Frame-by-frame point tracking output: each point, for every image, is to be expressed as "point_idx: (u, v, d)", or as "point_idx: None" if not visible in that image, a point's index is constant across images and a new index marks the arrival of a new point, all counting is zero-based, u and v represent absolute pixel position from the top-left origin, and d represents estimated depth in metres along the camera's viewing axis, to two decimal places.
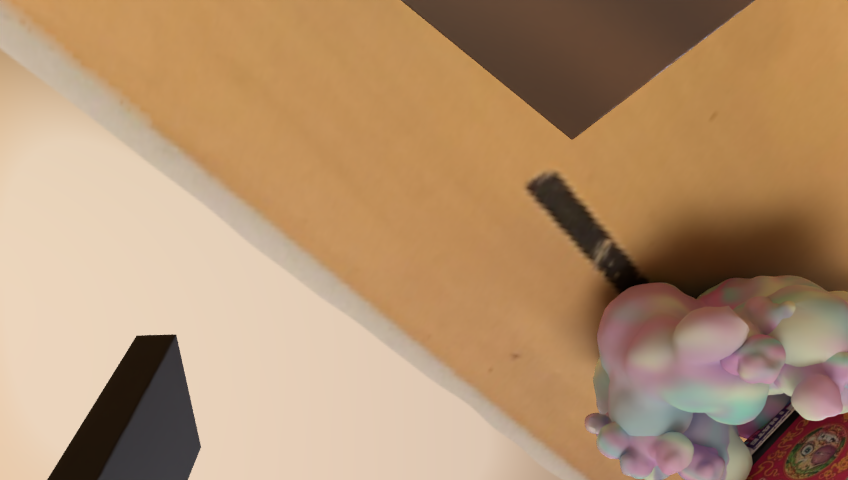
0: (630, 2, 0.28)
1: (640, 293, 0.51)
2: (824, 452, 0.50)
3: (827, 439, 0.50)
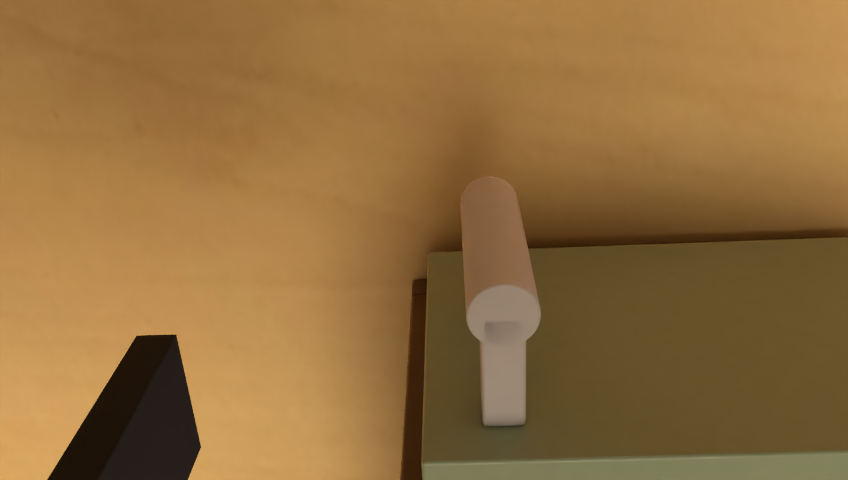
0: None
1: None
2: None
3: None
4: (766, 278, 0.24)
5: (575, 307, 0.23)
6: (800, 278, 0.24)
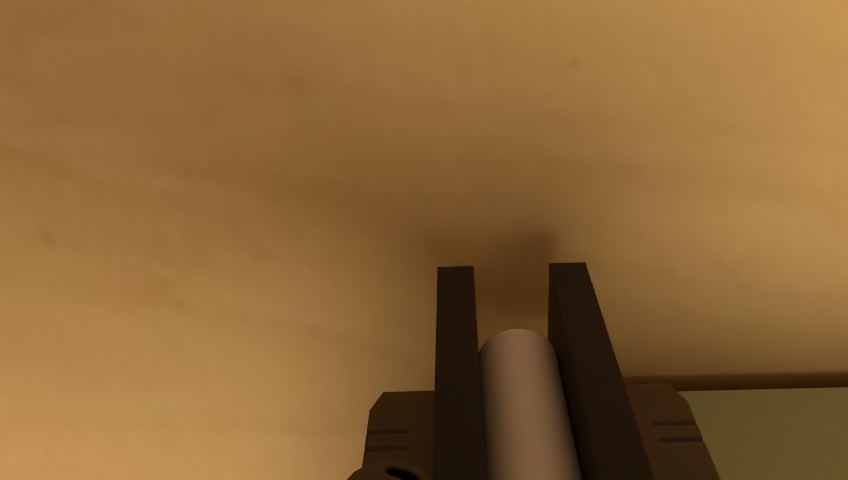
0: None
1: None
2: None
3: None
4: None
5: None
6: None
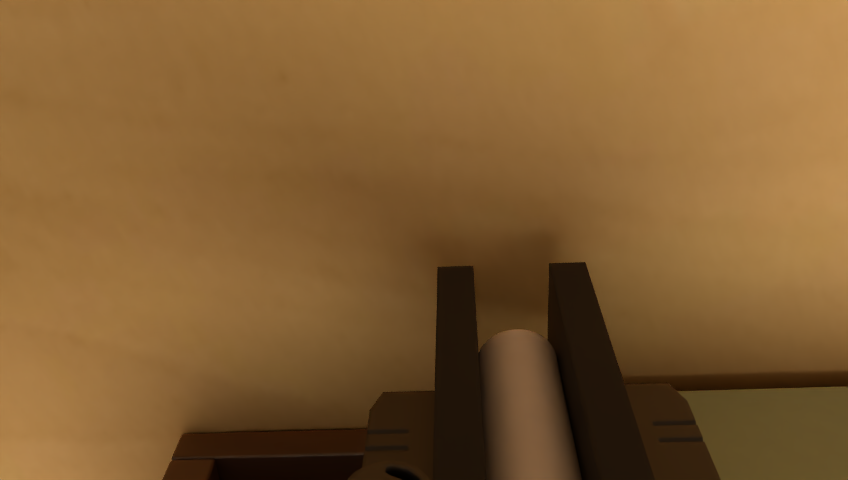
0: None
1: None
2: None
3: None
4: None
5: None
6: None
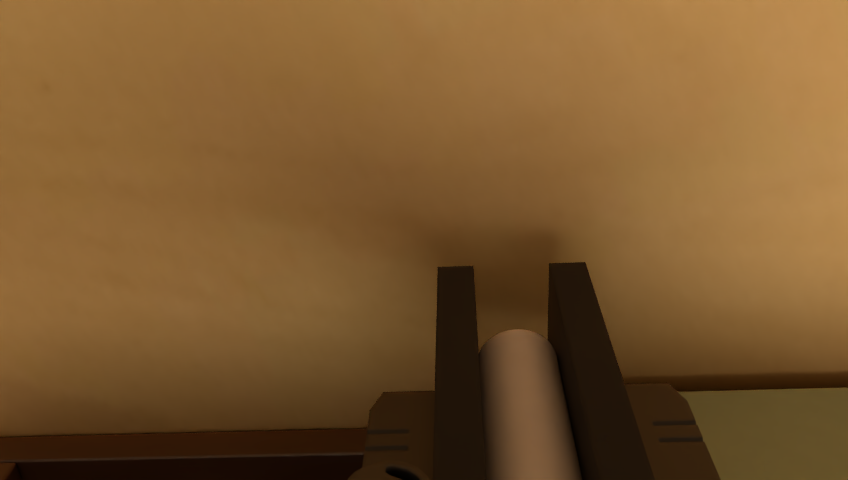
0: None
1: None
2: None
3: None
4: None
5: None
6: None
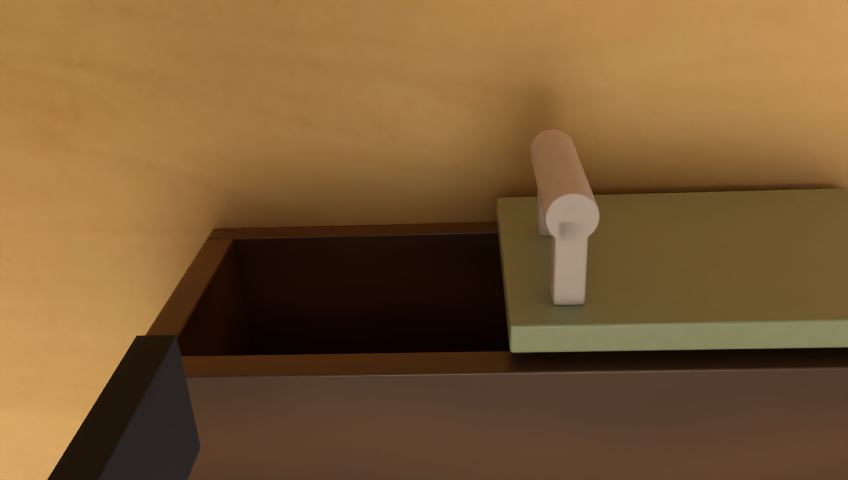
0: None
1: None
2: None
3: None
4: (767, 215, 0.31)
5: (617, 233, 0.30)
6: (794, 215, 0.31)
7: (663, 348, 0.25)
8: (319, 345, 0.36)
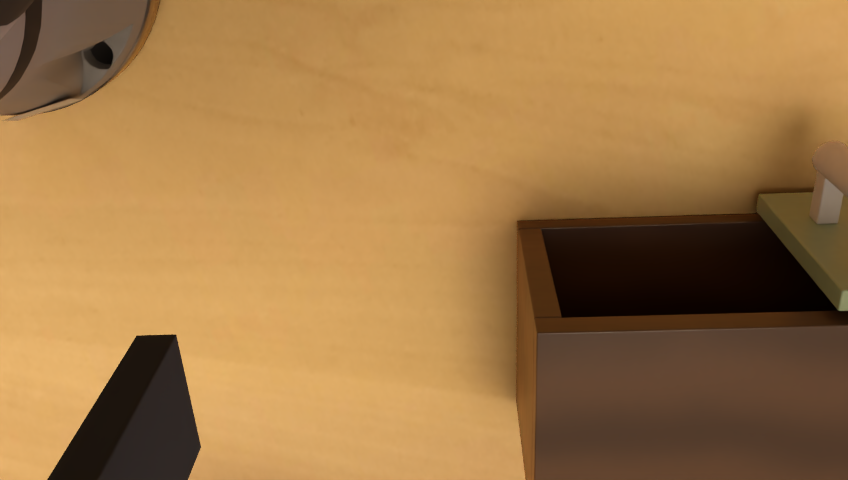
0: None
1: None
2: None
3: None
4: None
5: None
6: None
7: None
8: (596, 315, 0.45)
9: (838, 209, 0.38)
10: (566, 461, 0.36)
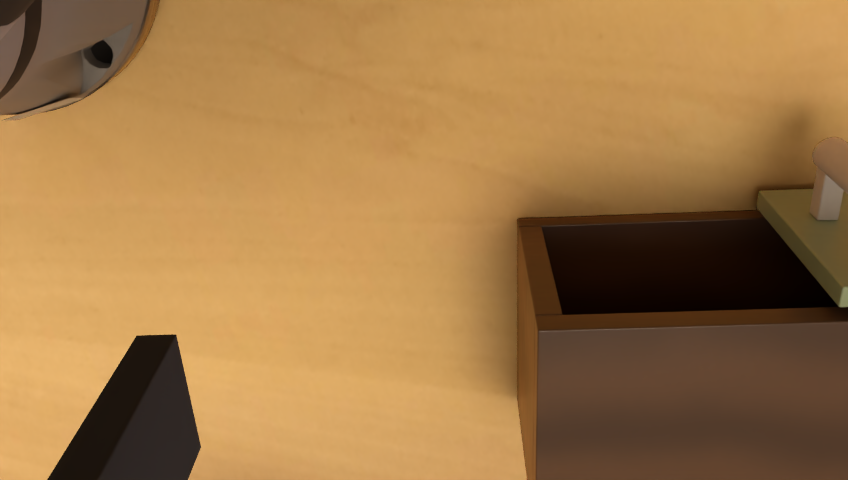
0: None
1: None
2: None
3: None
4: None
5: None
6: None
7: None
8: (596, 312, 0.45)
9: (838, 205, 0.38)
10: (567, 458, 0.37)
